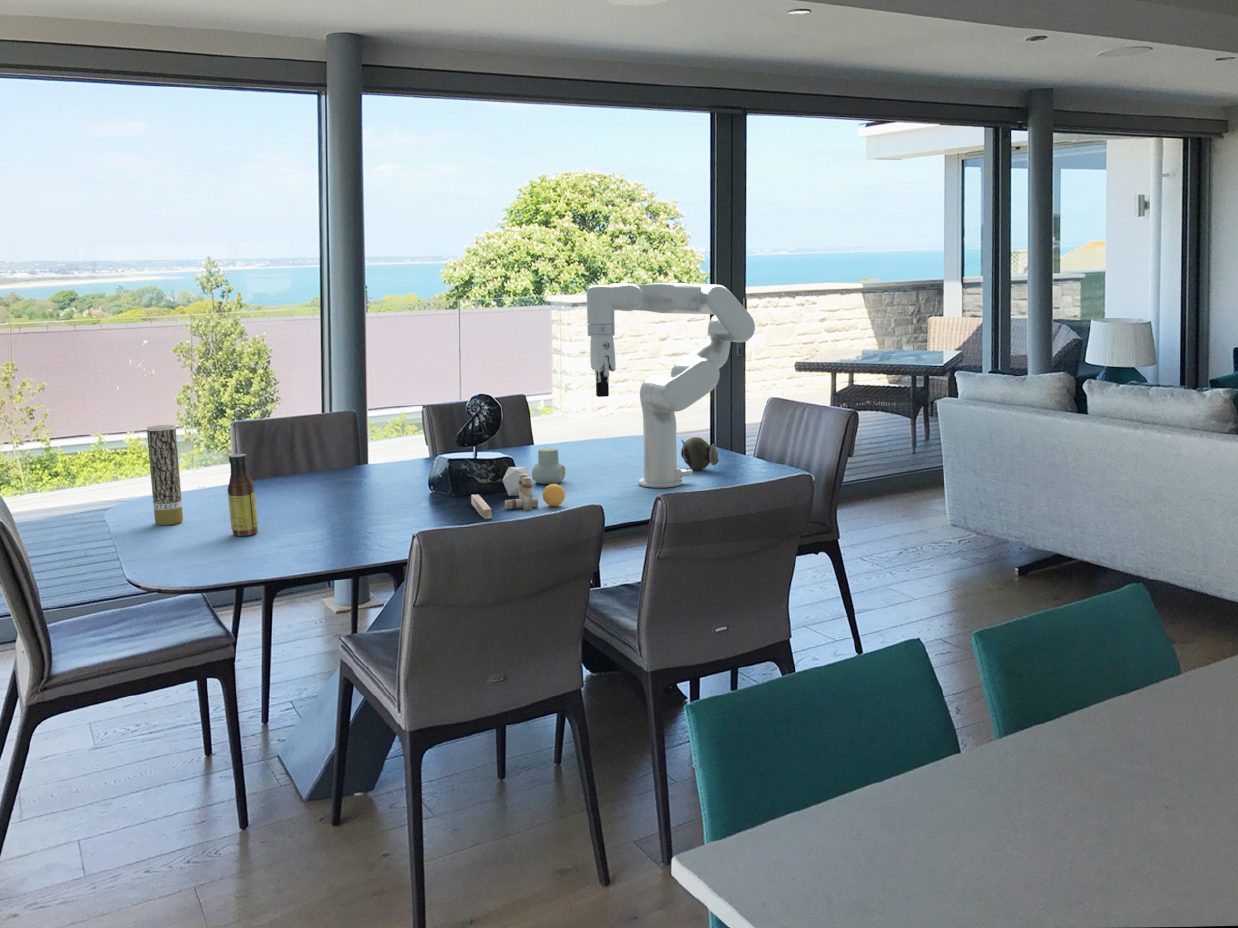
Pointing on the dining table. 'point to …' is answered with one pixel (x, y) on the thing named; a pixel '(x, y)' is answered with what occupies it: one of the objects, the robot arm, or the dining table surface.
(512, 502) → the front pin
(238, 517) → the sauce bottle
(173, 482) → the paper tube
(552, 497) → the ball
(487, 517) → the backstop
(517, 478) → the die
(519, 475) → the pin
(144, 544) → the dining table surface
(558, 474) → the air freshener
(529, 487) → the pin
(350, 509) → the dining table surface
